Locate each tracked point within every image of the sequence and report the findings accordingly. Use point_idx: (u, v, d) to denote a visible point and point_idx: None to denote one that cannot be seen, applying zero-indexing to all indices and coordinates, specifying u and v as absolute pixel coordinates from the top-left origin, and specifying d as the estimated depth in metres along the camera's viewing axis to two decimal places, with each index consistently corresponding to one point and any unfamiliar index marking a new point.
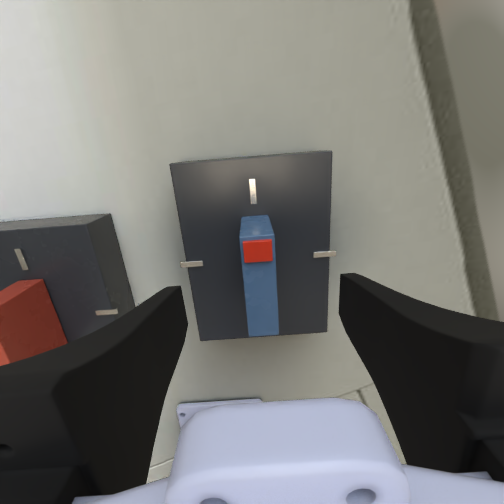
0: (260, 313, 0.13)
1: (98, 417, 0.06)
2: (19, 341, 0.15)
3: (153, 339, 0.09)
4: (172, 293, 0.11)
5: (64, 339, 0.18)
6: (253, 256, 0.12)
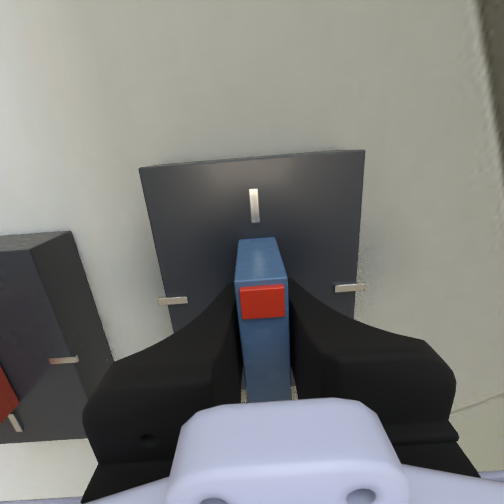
0: (266, 384, 0.09)
1: None
2: None
3: (234, 333, 0.09)
4: None
5: (11, 393, 0.14)
6: (255, 310, 0.08)
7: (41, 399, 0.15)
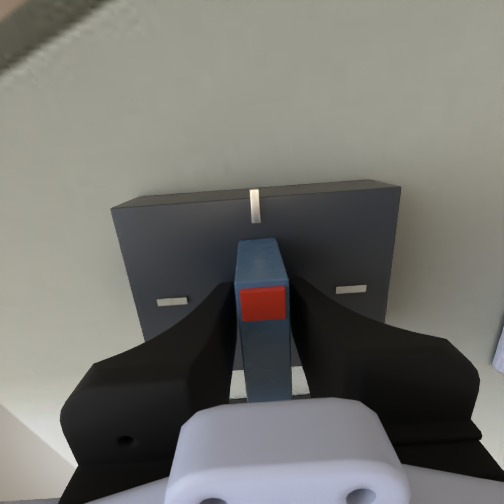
0: (266, 387, 0.09)
1: None
2: None
3: (223, 334, 0.09)
4: (230, 289, 0.11)
5: None
6: (256, 312, 0.08)
7: None
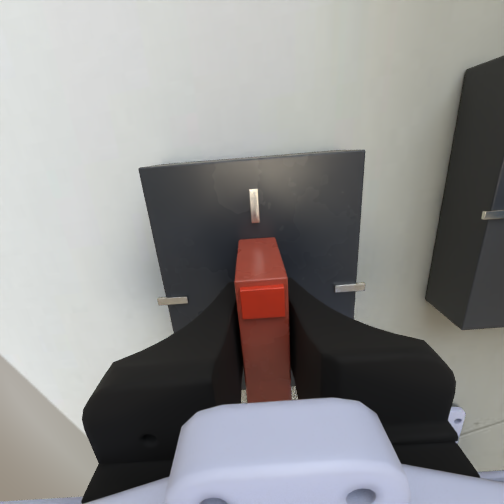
0: None
1: None
2: None
3: (235, 333, 0.09)
4: None
5: None
6: None
7: None
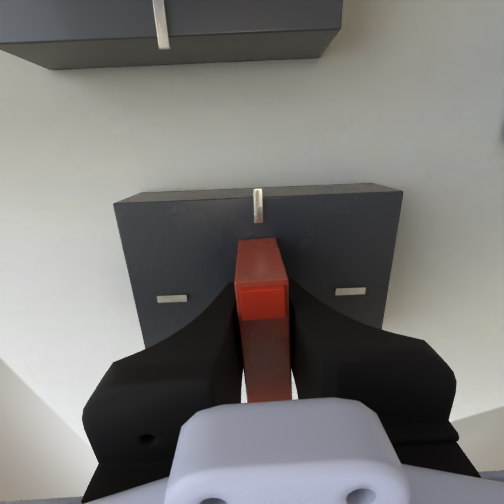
0: None
1: None
2: None
3: (235, 333, 0.09)
4: None
5: None
6: None
7: (319, 252, 0.12)
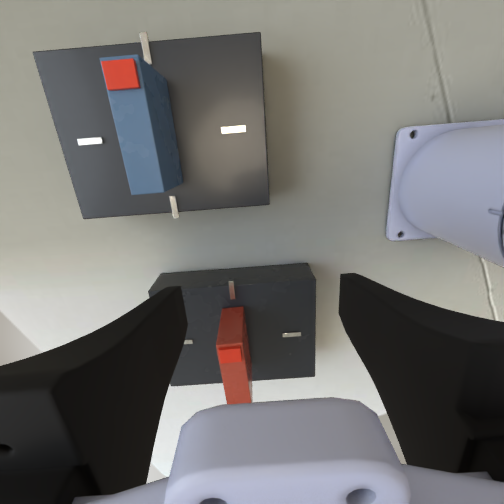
0: (139, 163, 0.12)
1: (98, 417, 0.06)
2: (247, 362, 0.18)
3: (153, 339, 0.09)
4: (172, 293, 0.11)
5: (250, 357, 0.21)
6: (116, 81, 0.11)
7: (270, 313, 0.20)
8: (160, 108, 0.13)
